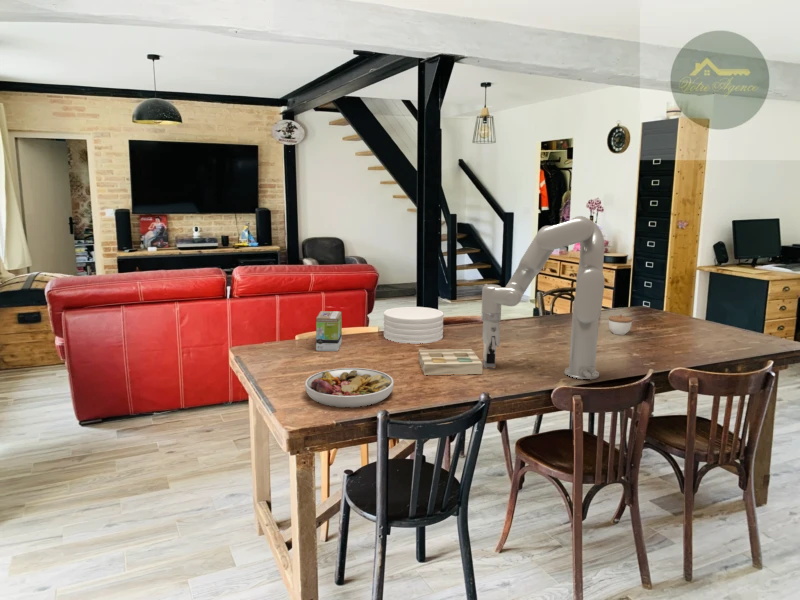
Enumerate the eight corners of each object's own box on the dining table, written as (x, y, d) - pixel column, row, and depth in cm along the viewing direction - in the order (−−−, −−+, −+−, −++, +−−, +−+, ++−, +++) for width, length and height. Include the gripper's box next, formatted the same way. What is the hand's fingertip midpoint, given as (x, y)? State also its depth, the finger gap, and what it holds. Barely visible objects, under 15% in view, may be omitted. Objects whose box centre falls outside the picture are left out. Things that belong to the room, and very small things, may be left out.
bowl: (348, 375, 226) (348, 355, 225) (411, 393, 208) (411, 371, 206) (287, 396, 203) (286, 374, 202) (350, 418, 185) (350, 394, 183)
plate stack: (453, 334, 288) (454, 311, 286) (423, 347, 265) (423, 322, 263) (404, 326, 303) (404, 304, 301) (371, 338, 280) (372, 314, 278)
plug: (495, 368, 235) (496, 343, 234) (485, 368, 235) (486, 343, 233) (492, 365, 239) (493, 341, 237) (482, 365, 239) (483, 341, 237)
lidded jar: (628, 337, 285) (630, 318, 283) (605, 334, 291) (606, 315, 289) (632, 332, 294) (634, 314, 292) (610, 329, 300) (611, 311, 298)
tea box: (339, 351, 257) (338, 317, 254) (315, 351, 257) (315, 317, 254) (342, 342, 272) (341, 310, 269) (320, 342, 272) (319, 310, 269)
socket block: (482, 374, 227) (482, 362, 226) (424, 375, 225) (424, 363, 224) (471, 359, 247) (472, 348, 246) (418, 360, 245) (418, 348, 244)
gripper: (506, 321, 225) (503, 367, 229) (495, 311, 242) (493, 355, 245) (486, 321, 225) (484, 368, 228) (477, 311, 241) (475, 355, 245)
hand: (489, 361), depth 237 cm, fingers closed on plug, 4 cm apart
